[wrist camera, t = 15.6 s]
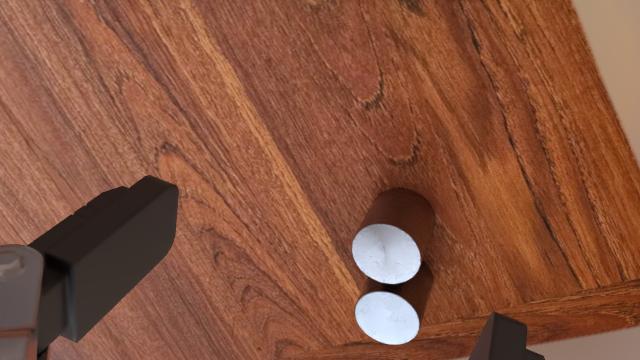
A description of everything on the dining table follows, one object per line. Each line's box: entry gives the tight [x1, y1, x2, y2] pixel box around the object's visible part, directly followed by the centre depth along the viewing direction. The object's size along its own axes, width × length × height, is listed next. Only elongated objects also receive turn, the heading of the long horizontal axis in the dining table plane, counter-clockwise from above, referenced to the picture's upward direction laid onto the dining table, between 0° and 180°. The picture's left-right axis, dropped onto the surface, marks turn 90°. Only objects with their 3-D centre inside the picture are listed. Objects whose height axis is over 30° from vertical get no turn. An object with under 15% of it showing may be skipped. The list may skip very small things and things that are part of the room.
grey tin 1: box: [352, 188, 435, 284], centre depth 48 cm, size 6×6×6 cm
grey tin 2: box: [355, 261, 433, 345], centre depth 50 cm, size 6×6×6 cm
